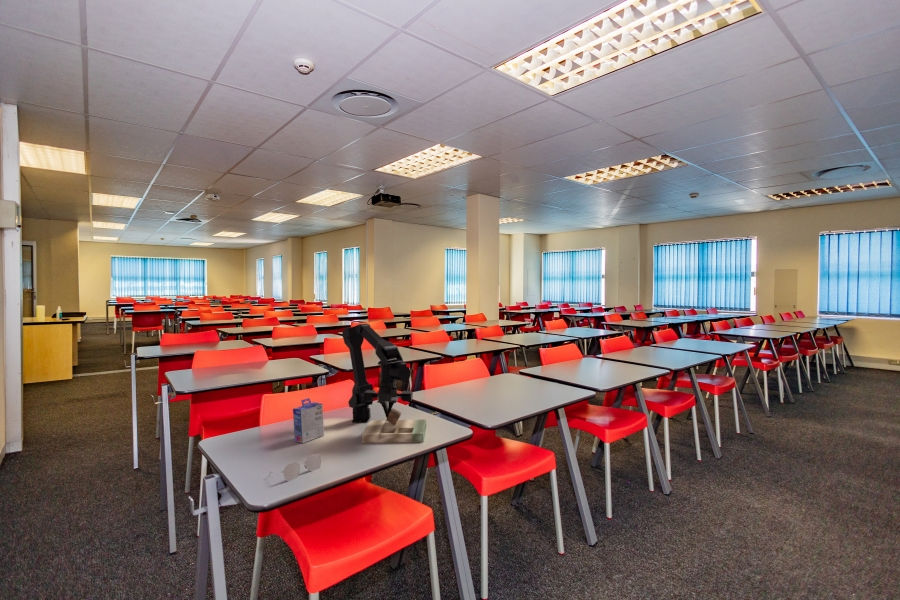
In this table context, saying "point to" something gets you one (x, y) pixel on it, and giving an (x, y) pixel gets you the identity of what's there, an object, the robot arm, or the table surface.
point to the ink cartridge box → (308, 421)
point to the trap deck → (394, 431)
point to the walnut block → (393, 416)
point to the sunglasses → (294, 468)
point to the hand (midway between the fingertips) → (387, 417)
